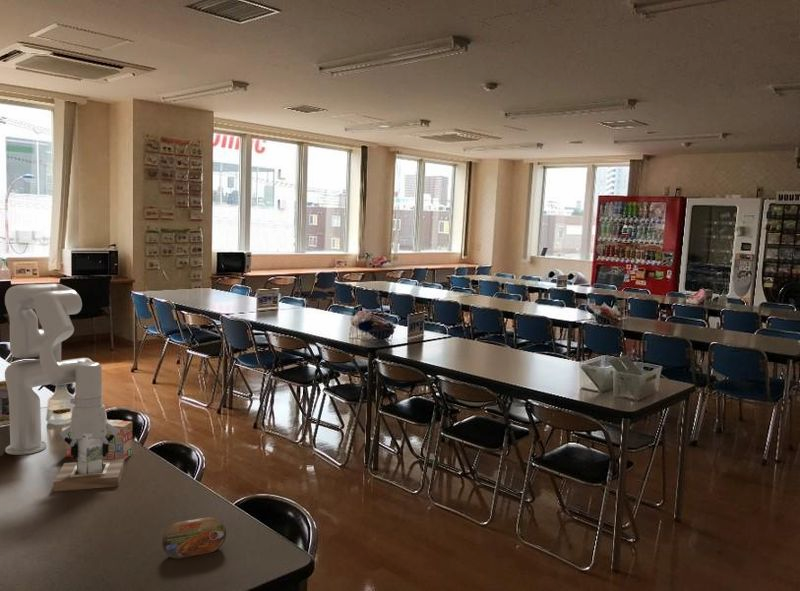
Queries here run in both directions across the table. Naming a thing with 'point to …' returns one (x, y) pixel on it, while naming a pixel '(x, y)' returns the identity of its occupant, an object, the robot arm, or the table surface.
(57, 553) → the table surface
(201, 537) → the tin
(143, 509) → the table surface
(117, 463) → the socket board
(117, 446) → the stack of blocks
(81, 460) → the syrup box
